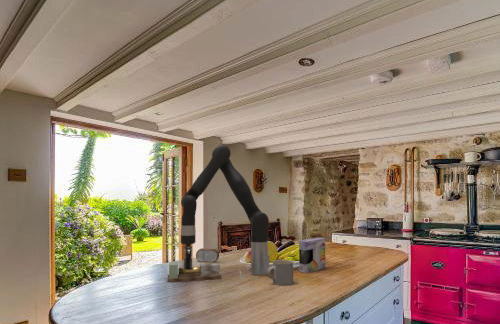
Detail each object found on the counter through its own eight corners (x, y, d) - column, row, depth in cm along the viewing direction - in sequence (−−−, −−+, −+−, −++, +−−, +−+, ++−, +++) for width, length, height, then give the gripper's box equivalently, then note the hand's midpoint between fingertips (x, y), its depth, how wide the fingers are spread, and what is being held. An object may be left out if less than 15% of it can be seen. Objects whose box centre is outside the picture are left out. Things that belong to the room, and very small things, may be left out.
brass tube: (211, 271, 180) (211, 257, 180) (212, 273, 176) (212, 258, 177) (178, 273, 175) (178, 258, 176) (178, 275, 172) (179, 259, 173)
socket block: (177, 274, 177) (177, 261, 178) (177, 278, 170) (177, 264, 170) (168, 275, 176) (169, 262, 177) (169, 278, 169) (169, 265, 169)
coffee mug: (289, 279, 172) (288, 259, 173) (296, 284, 163) (296, 263, 164) (263, 281, 169) (263, 260, 170) (269, 286, 160) (269, 264, 161)
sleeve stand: (218, 274, 183) (218, 262, 184) (221, 279, 174) (221, 266, 174) (167, 277, 177) (167, 264, 178) (167, 282, 167) (168, 268, 168)
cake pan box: (304, 273, 185) (303, 240, 187) (297, 272, 189) (296, 239, 191) (326, 269, 197) (325, 238, 199) (319, 267, 201) (319, 237, 203)
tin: (219, 261, 219) (219, 248, 220) (218, 262, 216) (218, 249, 217) (196, 261, 221) (196, 248, 222) (195, 262, 218) (195, 248, 219)
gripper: (196, 235, 171) (196, 270, 169) (194, 232, 185) (193, 265, 183) (181, 235, 169) (180, 271, 167) (180, 232, 183) (179, 265, 181)
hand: (187, 267), depth 175 cm, fingers closed on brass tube, 3 cm apart
